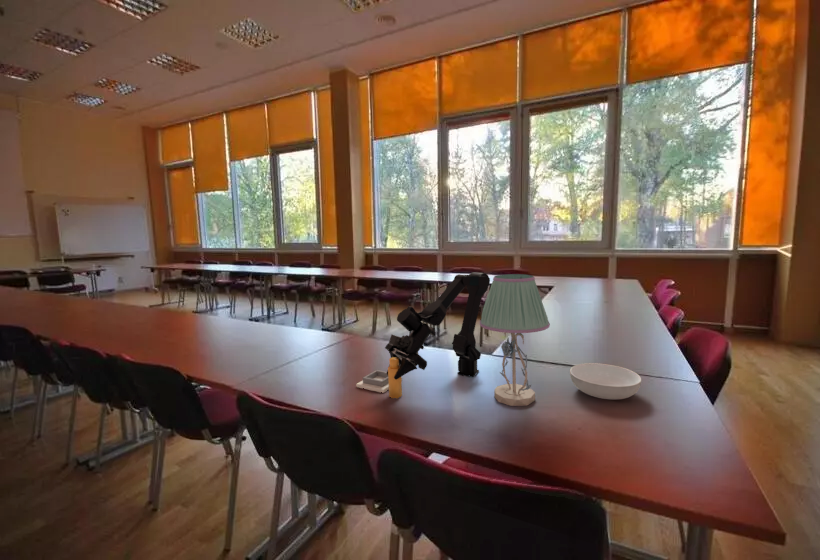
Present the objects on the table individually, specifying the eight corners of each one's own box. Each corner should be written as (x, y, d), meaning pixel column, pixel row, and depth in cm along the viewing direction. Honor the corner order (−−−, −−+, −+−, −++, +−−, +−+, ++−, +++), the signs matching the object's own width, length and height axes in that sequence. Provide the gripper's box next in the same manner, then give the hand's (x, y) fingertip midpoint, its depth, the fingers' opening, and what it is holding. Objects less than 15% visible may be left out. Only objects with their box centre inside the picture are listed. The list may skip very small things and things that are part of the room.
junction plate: (402, 380, 145) (401, 372, 145) (383, 393, 135) (383, 384, 135) (376, 375, 151) (375, 367, 151) (356, 387, 141) (356, 378, 141)
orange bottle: (404, 394, 133) (403, 357, 131) (397, 399, 129) (395, 361, 128) (393, 392, 135) (392, 356, 134) (386, 396, 132) (384, 359, 130)
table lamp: (468, 391, 133) (466, 275, 128) (520, 380, 141) (520, 271, 136) (506, 418, 113) (505, 283, 108) (564, 404, 121) (566, 276, 116)
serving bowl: (641, 413, 114) (642, 390, 113) (565, 400, 124) (565, 379, 123) (640, 387, 132) (640, 367, 131) (573, 377, 142) (573, 359, 141)
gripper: (388, 320, 139) (362, 357, 135) (418, 330, 124) (390, 372, 119) (407, 338, 145) (383, 373, 140) (438, 349, 129) (412, 390, 124)
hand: (391, 376), depth 131 cm, fingers closed on orange bottle, 4 cm apart
